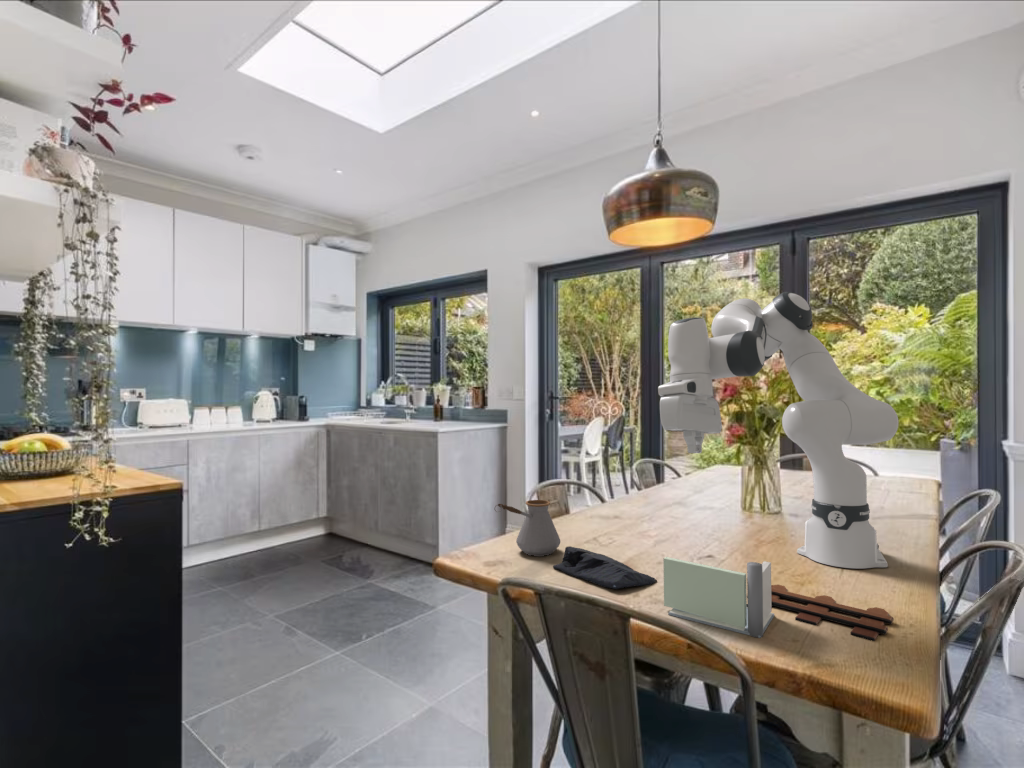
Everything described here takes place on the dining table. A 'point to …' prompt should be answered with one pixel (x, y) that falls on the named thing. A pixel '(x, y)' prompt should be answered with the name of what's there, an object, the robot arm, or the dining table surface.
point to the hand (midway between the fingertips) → (694, 453)
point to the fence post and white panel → (758, 596)
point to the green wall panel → (705, 591)
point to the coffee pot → (536, 529)
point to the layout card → (718, 623)
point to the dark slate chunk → (601, 569)
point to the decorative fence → (820, 608)
